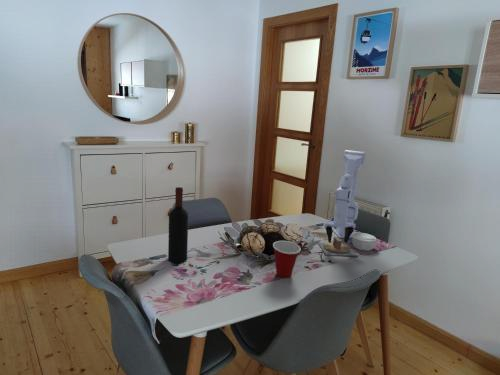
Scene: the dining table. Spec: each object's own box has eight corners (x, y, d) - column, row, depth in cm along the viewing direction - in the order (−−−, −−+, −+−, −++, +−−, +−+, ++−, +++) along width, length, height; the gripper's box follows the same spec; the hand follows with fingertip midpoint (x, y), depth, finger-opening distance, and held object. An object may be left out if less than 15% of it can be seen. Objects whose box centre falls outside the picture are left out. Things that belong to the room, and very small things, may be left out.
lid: (320, 243, 180) (321, 233, 179) (344, 243, 182) (345, 234, 180) (327, 253, 169) (328, 243, 168) (353, 253, 170) (354, 244, 169)
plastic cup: (288, 284, 139) (291, 253, 136) (264, 274, 146) (267, 245, 143) (303, 274, 148) (306, 245, 145) (280, 265, 154) (282, 238, 151)
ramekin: (364, 253, 173) (366, 242, 172) (345, 245, 182) (347, 234, 180) (379, 249, 179) (381, 238, 178) (360, 241, 188) (362, 231, 187)
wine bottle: (164, 260, 152) (165, 188, 145) (176, 254, 159) (177, 184, 152) (179, 265, 149) (180, 191, 142) (190, 258, 155) (192, 187, 148)
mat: (317, 243, 181) (317, 242, 181) (345, 244, 182) (346, 243, 182) (326, 255, 167) (326, 254, 167) (356, 256, 169) (356, 255, 169)
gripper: (328, 216, 166) (324, 245, 169) (359, 217, 168) (355, 245, 171) (323, 211, 173) (320, 239, 176) (353, 212, 175) (350, 240, 178)
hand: (337, 242), depth 174 cm, fingers open, 7 cm apart
